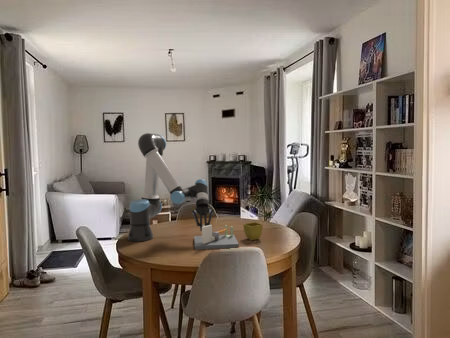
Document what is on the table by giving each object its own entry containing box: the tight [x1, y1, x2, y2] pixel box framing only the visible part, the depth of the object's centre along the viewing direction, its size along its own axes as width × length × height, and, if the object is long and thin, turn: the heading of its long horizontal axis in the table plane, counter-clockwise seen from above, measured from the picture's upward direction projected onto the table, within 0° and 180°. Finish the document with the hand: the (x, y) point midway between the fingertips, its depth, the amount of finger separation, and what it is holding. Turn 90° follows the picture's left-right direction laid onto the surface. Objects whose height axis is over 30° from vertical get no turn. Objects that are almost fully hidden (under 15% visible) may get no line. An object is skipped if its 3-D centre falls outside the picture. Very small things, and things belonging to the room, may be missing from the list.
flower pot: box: [242, 221, 263, 241], centre depth 215 cm, size 9×9×9 cm
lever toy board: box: [193, 224, 240, 250], centre depth 206 cm, size 24×22×8 cm
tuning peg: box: [201, 224, 228, 244], centre depth 205 cm, size 22×4×9 cm, turn 144°
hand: (204, 235), depth 201 cm, fingers closed
